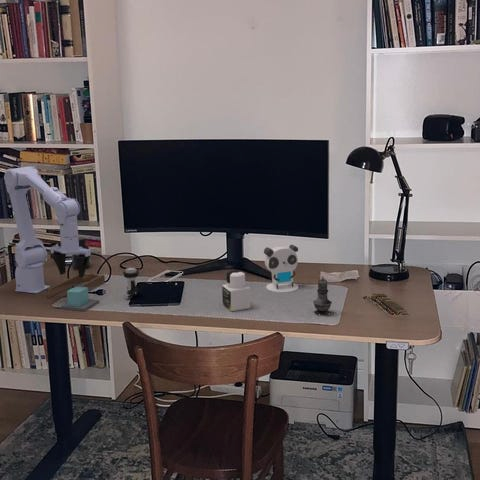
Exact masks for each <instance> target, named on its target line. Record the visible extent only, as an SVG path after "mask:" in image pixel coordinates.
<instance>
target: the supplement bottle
mask: <svg viewBox="0 0 480 480" xmlns="http://www.w3.org/2000/svg"><path fill="white" fill-rule="evenodd" d="M78 240H79V247H81V248H84V249H89V250H90V247H89V245H88V243H87V238H86V237H82V236H78ZM78 256H79V255H73V254H71V260H72V269H74V270H76V271H78V265H77V261H76V259H75V258H76V257H78ZM89 268H91V257H90V258H89V260H88V262H87V265H86V269H85V270H87V269H89Z"/></svg>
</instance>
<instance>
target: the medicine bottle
mask: <svg viewBox="0 0 480 480" xmlns="http://www.w3.org/2000/svg"><path fill="white" fill-rule="evenodd" d="M221 286H222V287H221V290H222V291H221V292H222V293H221V295H222V296H221V297H222V306H223V307H224V308H226V309H227V310H228V311H229V312H235V311H242V310H247V309H249V310H250V309H251V287H249V286H248V285H246V273H245V271H242V270H237V269H235V270H229V271H228V272H227V273H226V284H222V285H221Z"/></svg>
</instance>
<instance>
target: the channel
mask: <svg viewBox="0 0 480 480" xmlns="http://www.w3.org/2000/svg"><path fill="white" fill-rule="evenodd" d="M82 282H85V283H83V284H81V285H79V287H88V292H90V291H92V290H94V289H96V288H97V287H98V288H99V286H101V285H103V284H105V283H106V278H105V274H99V273H98V274H97V273H88V272H85V275H84V276H82V277H79V273H77V274H76V275H74V276H71V277H69V278H67V279H66V280H63V281H61V282H59V283H57V284H55V285H53V286H50V287H49V288H47V289H46V294H47V295H46V296H47V298H49V299H50V298H52V297H54V296H56V295H58V294H60V293H62V292H64V291H66V290H68V289H71V288H72V287H75V286H77V285H78V284H80V283H82Z"/></svg>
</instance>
